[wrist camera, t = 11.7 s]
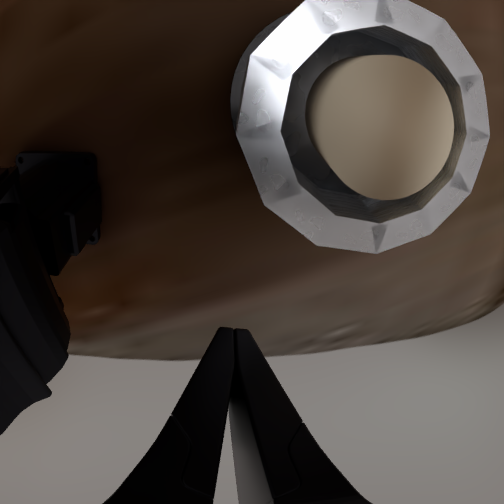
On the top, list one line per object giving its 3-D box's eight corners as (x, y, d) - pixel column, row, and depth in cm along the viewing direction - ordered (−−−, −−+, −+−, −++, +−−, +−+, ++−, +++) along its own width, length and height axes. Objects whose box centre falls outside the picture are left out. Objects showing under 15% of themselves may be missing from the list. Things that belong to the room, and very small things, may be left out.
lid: (292, 162, 14) (305, 185, 12) (318, 40, 11) (339, 33, 9) (401, 185, 15) (428, 211, 13) (431, 79, 12) (467, 87, 9)
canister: (217, 182, 19) (207, 242, 13) (250, -12, 12) (258, -56, 7) (392, 211, 20) (441, 271, 14) (438, 49, 14) (514, 57, 8)
